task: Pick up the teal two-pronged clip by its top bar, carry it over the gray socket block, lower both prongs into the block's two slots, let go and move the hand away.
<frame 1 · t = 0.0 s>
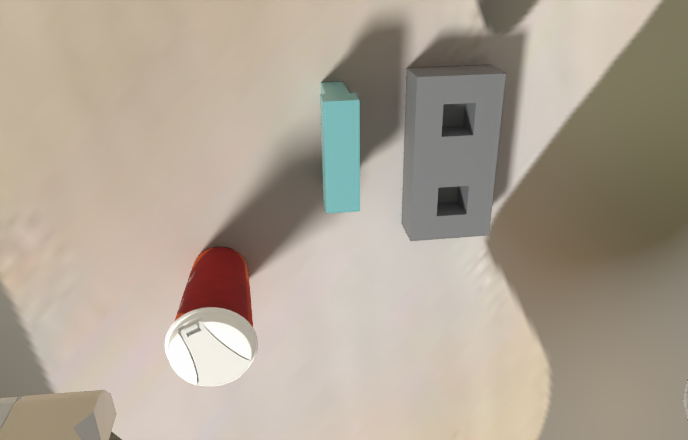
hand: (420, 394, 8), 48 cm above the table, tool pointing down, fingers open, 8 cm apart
paper cup: (221, 269, 61), on the table
gray socket block: (443, 148, 58), on the table
clip: (333, 134, 56), on the table
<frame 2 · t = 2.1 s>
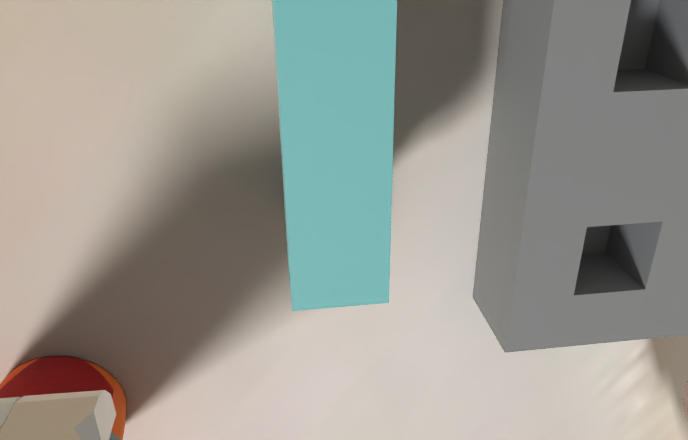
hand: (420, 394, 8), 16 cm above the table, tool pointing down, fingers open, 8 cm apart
paper cup: (66, 401, 27), on the table
gray socket block: (583, 126, 24), on the table
clip: (315, 89, 22), on the table
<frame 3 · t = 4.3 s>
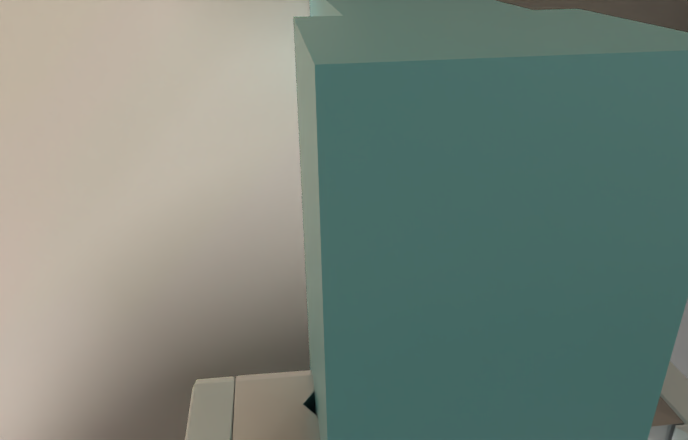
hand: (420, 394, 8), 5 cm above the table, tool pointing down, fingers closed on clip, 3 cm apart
clip: (366, 242, 12), on the table, touching gripper
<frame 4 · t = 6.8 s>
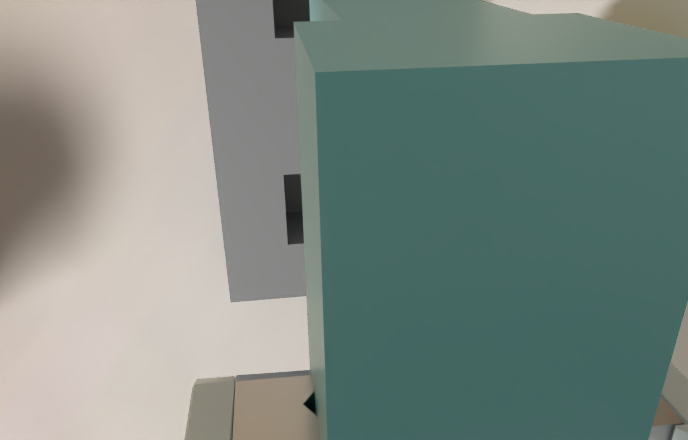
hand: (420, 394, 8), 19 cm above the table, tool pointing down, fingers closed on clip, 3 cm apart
gray socket block: (311, 83, 25), on the table
clip: (366, 244, 12), point 14 cm above the table, touching gripper
when the fingers open (7 cm above the table, at t = 9.5 s): clip stays where it is, resting on gray socket block.
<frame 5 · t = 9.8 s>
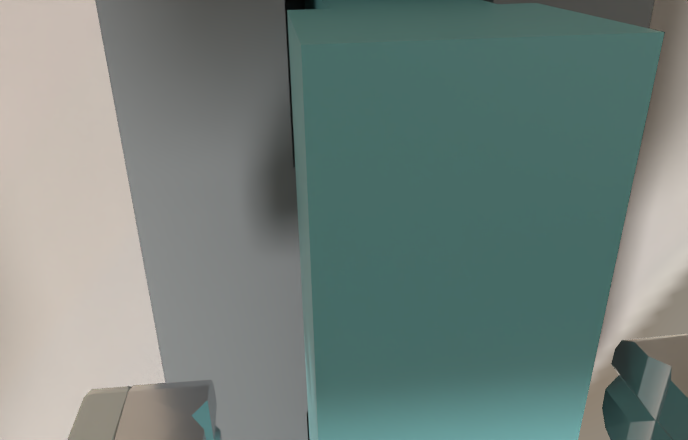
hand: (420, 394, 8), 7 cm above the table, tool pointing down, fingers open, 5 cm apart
gray socket block: (353, 204, 14), on the table
clip: (358, 223, 13), point 1 cm above the table, touching gray socket block
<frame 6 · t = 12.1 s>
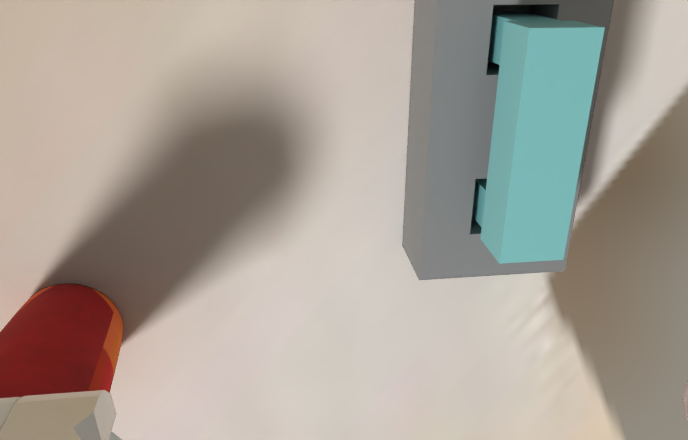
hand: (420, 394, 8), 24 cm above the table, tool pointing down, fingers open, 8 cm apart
paper cup: (75, 323, 34), on the table
gray socket block: (482, 107, 31), on the table
clip: (488, 112, 31), point 1 cm above the table, touching gray socket block
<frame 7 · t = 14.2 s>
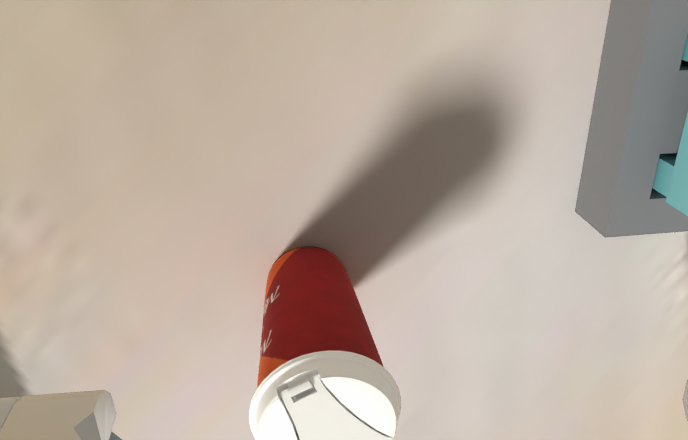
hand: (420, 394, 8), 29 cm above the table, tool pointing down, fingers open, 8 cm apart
paper cup: (307, 280, 41), on the table
gray socket block: (652, 96, 38), on the table
clip: (661, 100, 38), point 1 cm above the table, touching gray socket block
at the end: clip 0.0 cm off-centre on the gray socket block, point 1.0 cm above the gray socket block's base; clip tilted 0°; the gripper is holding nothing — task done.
